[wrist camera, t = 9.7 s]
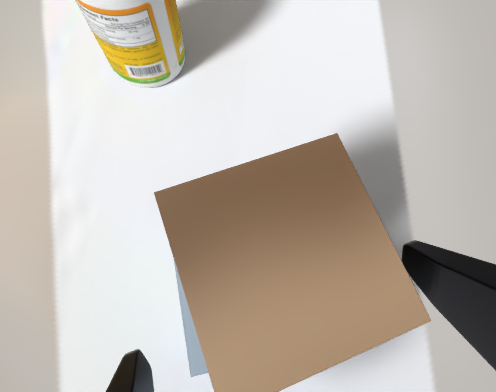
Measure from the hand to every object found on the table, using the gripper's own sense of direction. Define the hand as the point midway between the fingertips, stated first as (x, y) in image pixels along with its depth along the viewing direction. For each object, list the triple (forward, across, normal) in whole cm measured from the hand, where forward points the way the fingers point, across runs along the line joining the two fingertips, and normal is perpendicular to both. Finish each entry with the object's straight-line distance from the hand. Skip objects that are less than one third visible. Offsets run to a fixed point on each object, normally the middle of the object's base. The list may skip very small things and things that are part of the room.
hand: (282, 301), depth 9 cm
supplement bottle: (+19, +2, -7) cm, 20 cm away
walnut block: (+6, 0, +4) cm, 7 cm away
